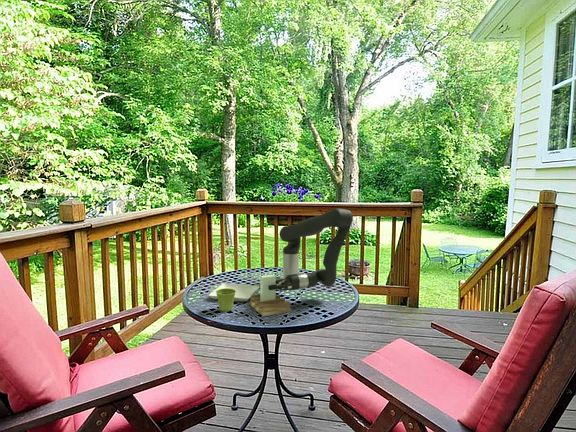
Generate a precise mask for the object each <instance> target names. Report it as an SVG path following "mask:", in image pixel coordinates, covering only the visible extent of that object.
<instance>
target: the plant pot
mask: <svg viewBox="0 0 576 432" xmlns="http://www.w3.org/2000/svg"><path fill="white" fill-rule="evenodd" d="M235 293H236V290H234V289H230V288H224V289H219V290H217V291H216V294H217V296H218V299H217V302H218V303H217V304H218V308H219V309H218V310H219V311H220V312H229V311H232V310H233V307H234V302H235V301H234V296H235Z"/></svg>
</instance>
